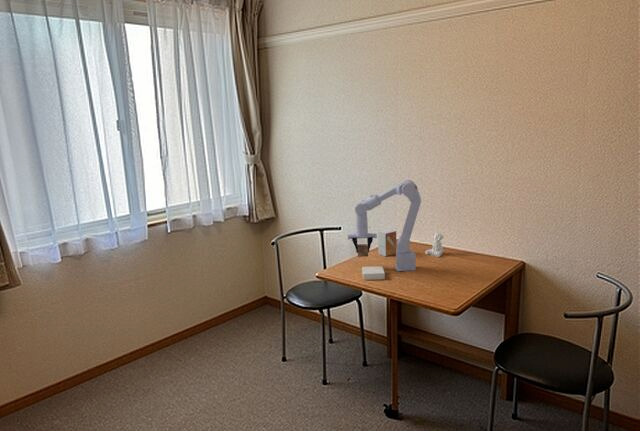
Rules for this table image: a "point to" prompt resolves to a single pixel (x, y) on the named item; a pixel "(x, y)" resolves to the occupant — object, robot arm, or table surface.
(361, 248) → the walnut cube
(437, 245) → the white creature statuette
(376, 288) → the table surface
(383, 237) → the small box
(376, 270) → the base block
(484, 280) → the table surface
